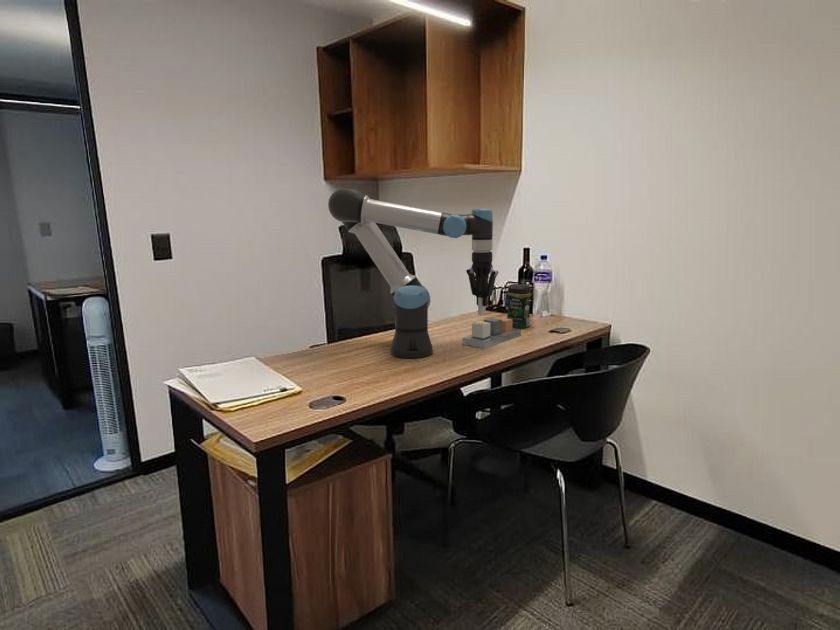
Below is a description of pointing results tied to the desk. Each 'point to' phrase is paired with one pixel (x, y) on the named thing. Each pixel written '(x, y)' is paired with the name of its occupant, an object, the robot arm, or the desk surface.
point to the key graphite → (494, 325)
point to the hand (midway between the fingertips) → (481, 314)
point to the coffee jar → (519, 305)
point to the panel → (491, 338)
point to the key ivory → (480, 329)
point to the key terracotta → (506, 324)
